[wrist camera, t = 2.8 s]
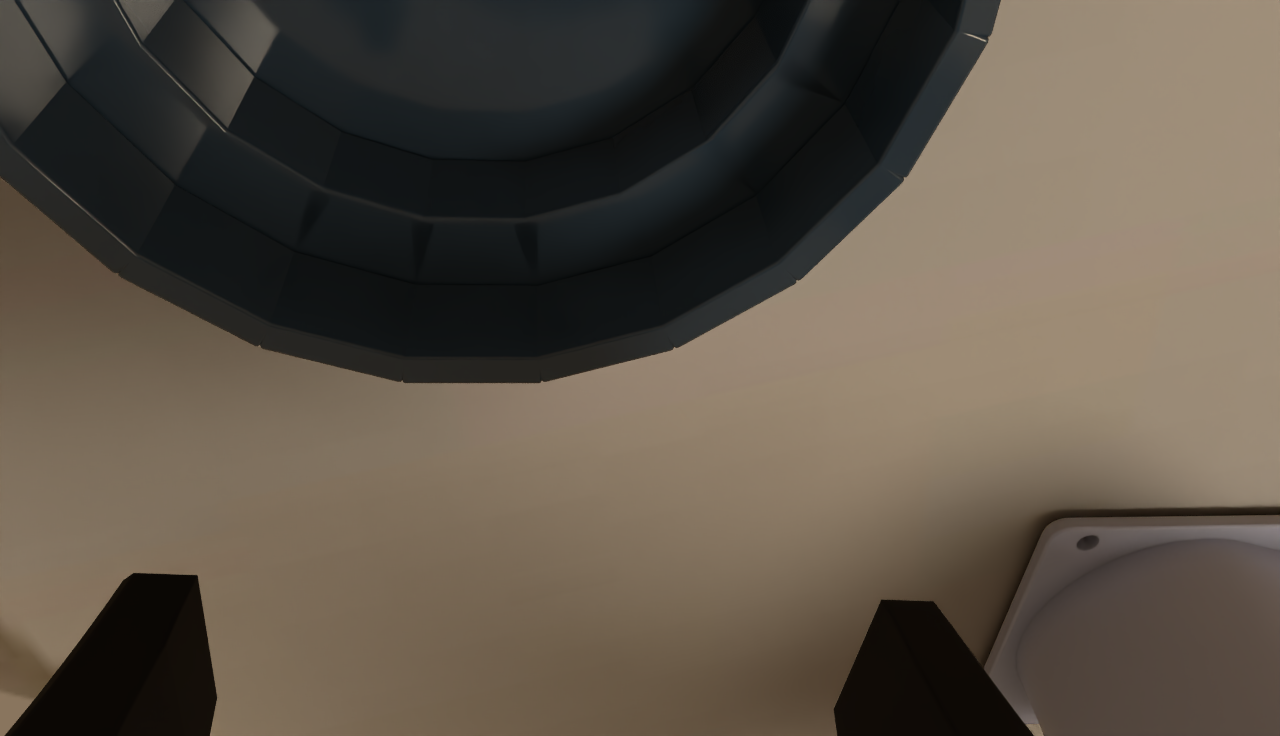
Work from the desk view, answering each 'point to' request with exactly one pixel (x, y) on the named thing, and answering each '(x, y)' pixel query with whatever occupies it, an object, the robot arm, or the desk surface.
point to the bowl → (471, 162)
